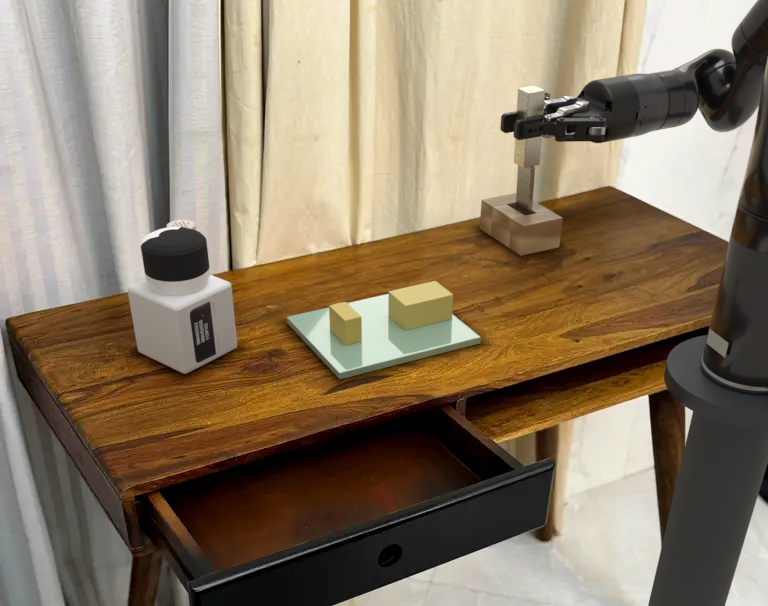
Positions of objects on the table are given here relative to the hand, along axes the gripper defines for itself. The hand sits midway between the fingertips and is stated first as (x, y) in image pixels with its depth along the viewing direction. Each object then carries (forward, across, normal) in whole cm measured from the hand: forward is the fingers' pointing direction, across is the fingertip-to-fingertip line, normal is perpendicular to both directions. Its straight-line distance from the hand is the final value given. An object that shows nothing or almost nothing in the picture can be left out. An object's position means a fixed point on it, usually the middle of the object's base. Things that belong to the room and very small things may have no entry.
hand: (509, 127), depth 120 cm
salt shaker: (+42, -1, +15) cm, 44 cm away
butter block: (+21, +15, +14) cm, 29 cm away
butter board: (+25, +15, +14) cm, 33 cm away
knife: (-3, 0, +11) cm, 11 cm away
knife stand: (-3, 0, +15) cm, 15 cm away
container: (+46, +10, +14) cm, 49 cm away
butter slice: (+30, +16, +14) cm, 36 cm away
